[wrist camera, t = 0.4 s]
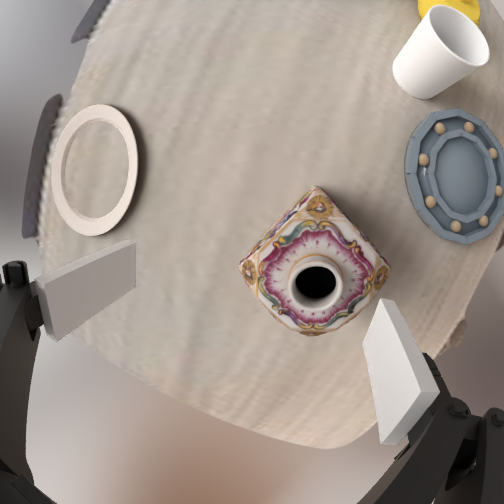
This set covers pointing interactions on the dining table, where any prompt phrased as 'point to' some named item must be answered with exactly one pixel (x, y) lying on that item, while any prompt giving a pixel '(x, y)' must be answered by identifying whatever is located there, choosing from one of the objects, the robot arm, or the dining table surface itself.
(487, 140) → the tray
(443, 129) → the beads
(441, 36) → the cup
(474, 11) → the teapot
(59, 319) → the robot arm
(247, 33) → the dining table surface
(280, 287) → the decorative jar
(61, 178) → the plate
